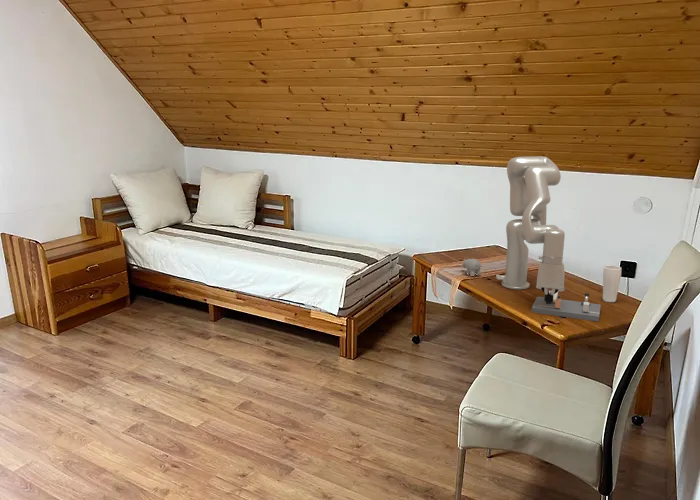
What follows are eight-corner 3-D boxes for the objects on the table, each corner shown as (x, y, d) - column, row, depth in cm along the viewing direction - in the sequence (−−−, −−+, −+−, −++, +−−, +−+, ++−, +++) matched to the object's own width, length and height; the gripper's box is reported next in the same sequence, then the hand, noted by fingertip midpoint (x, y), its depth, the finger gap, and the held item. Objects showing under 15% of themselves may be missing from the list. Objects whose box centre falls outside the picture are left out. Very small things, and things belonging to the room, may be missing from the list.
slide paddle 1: (554, 307, 217) (555, 300, 217) (555, 305, 220) (556, 298, 219) (560, 308, 216) (560, 301, 216) (560, 305, 219) (561, 298, 218)
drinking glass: (603, 303, 229) (606, 269, 225) (598, 297, 235) (602, 264, 232) (620, 303, 228) (624, 269, 224) (615, 298, 234) (618, 265, 231)
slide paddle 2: (582, 311, 213) (583, 304, 212) (583, 308, 215) (584, 301, 215) (588, 312, 212) (589, 304, 211) (588, 309, 215) (589, 302, 214)
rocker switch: (546, 301, 224) (546, 299, 224) (549, 292, 230) (549, 290, 229) (555, 302, 223) (556, 300, 222) (558, 293, 228) (558, 291, 228)
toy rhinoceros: (469, 270, 279) (470, 254, 277) (483, 276, 268) (483, 259, 266) (457, 271, 277) (458, 255, 274) (470, 278, 266) (471, 261, 264)
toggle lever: (583, 302, 220) (584, 291, 221) (583, 303, 222) (584, 292, 223) (588, 303, 220) (589, 292, 220) (588, 304, 221) (589, 292, 222)
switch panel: (531, 312, 220) (532, 300, 219) (536, 300, 233) (537, 290, 232) (598, 321, 209) (599, 310, 208) (600, 309, 222) (601, 298, 221)
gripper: (531, 260, 215) (528, 303, 220) (571, 264, 209) (567, 309, 213) (534, 255, 221) (531, 298, 226) (573, 259, 215) (569, 303, 220)
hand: (548, 303), depth 220 cm, fingers closed
